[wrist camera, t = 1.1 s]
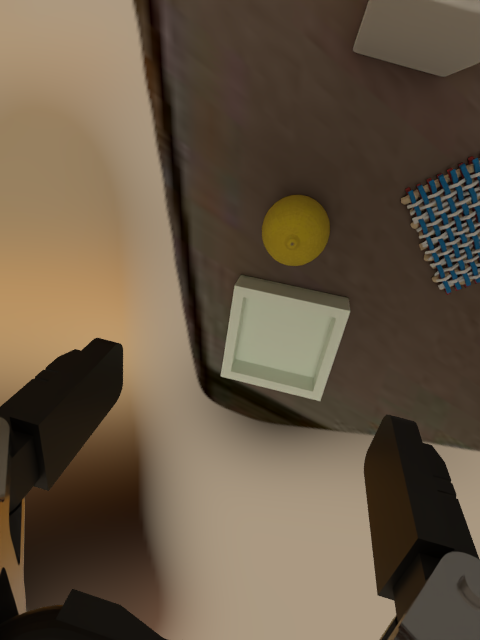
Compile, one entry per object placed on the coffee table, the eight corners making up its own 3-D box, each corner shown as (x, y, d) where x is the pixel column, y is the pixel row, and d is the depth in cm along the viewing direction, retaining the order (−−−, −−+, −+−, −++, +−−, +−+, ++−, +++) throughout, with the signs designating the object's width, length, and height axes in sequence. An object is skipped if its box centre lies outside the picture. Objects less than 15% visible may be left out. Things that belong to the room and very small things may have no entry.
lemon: (276, 254, 36) (265, 285, 29) (262, 197, 33) (246, 215, 26) (334, 241, 34) (336, 271, 27) (323, 180, 32) (323, 195, 25)
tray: (348, 297, 36) (350, 311, 34) (320, 383, 42) (320, 401, 39) (240, 274, 37) (234, 285, 35) (227, 361, 43) (220, 376, 40)
